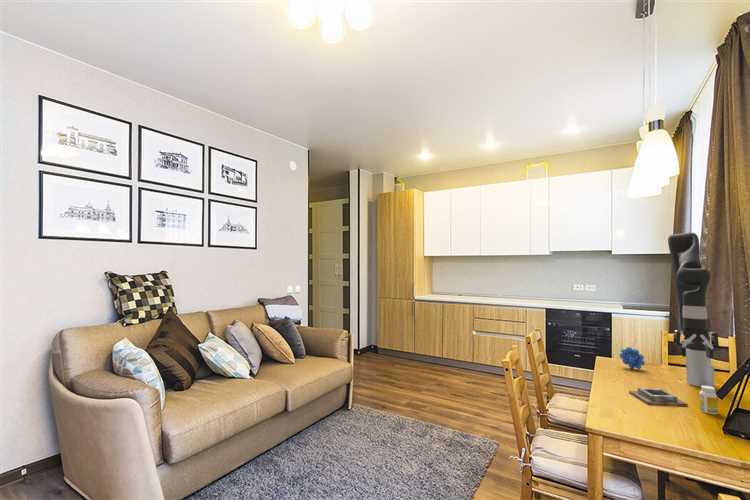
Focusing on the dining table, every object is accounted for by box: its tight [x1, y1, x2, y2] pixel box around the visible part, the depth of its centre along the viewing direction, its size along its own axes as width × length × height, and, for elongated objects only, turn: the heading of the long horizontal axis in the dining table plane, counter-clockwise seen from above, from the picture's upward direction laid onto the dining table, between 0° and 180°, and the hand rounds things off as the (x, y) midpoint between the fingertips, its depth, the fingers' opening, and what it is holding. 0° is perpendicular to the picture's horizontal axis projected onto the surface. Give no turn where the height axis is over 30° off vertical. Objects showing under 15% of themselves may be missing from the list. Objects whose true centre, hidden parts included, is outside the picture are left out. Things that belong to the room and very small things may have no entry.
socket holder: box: [628, 387, 689, 407], centre depth 156 cm, size 15×14×3 cm
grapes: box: [619, 346, 646, 370], centre depth 202 cm, size 12×7×12 cm, turn 52°
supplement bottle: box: [698, 386, 719, 415], centre depth 143 cm, size 6×5×10 cm
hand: (696, 357), depth 146 cm, fingers open, 8 cm apart
